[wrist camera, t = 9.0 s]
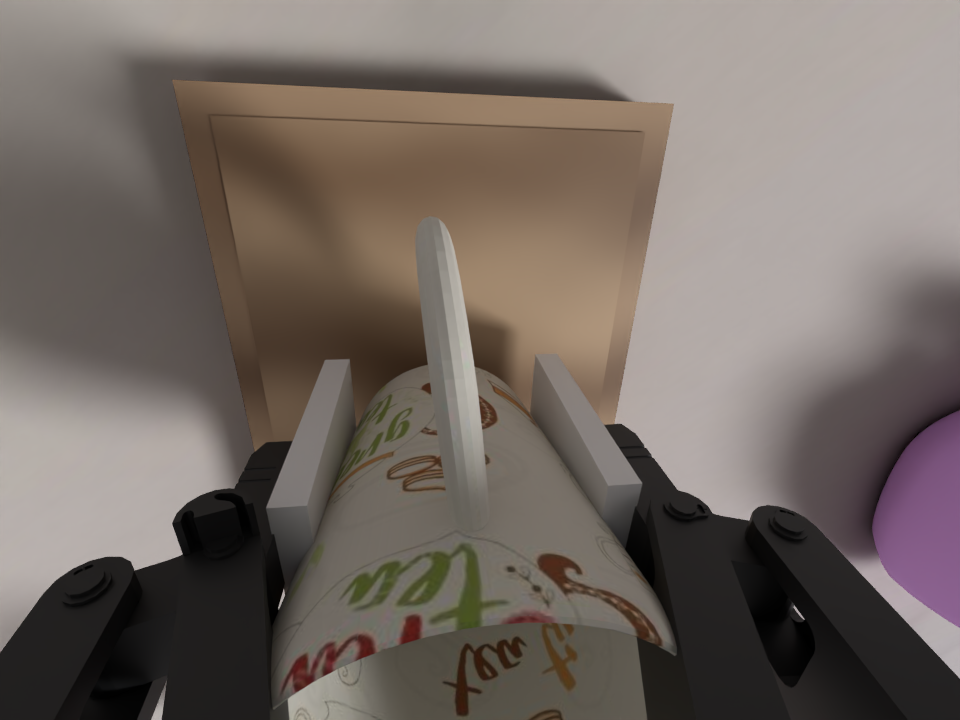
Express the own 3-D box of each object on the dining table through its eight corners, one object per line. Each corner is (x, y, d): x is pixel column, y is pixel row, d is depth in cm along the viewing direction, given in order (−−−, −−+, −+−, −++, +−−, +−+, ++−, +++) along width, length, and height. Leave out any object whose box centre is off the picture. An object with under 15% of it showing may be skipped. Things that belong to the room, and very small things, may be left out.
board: (203, 87, 14) (170, 79, 12) (644, 107, 16) (675, 103, 14) (291, 531, 22) (279, 568, 20) (578, 510, 23) (592, 542, 21)
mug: (352, 535, 18) (295, 921, 9) (257, 205, 12) (-124, 382, 4) (556, 503, 19) (686, 832, 10) (554, 175, 13) (851, 262, 4)
